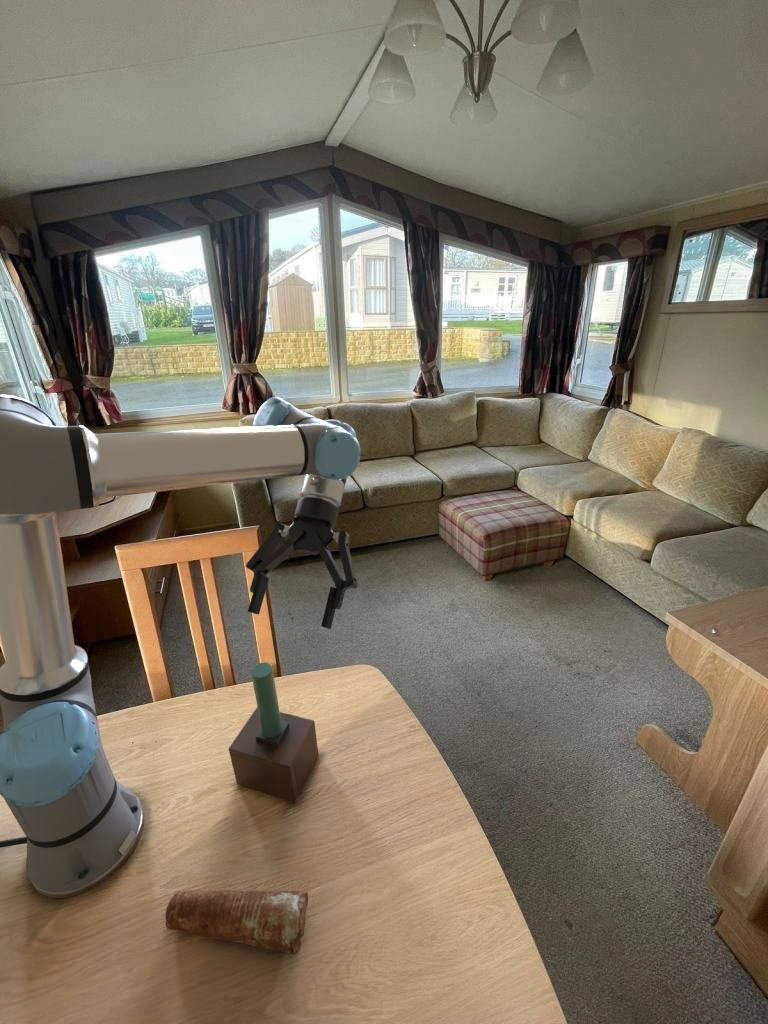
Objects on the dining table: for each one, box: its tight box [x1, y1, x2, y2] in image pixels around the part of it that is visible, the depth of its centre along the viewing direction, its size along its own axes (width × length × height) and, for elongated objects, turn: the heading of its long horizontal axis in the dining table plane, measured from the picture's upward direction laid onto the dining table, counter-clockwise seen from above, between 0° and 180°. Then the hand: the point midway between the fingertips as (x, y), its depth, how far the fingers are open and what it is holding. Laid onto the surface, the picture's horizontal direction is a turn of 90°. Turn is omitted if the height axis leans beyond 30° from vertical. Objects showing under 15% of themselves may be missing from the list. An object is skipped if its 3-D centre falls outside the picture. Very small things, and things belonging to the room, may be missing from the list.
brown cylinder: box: [165, 889, 309, 955], centre depth 63 cm, size 6×19×6 cm, turn 81°
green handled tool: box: [250, 662, 289, 747], centre depth 77 cm, size 4×4×14 cm
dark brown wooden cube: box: [228, 706, 320, 804], centre depth 82 cm, size 11×9×9 cm
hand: (288, 620), depth 81 cm, fingers open, 13 cm apart
